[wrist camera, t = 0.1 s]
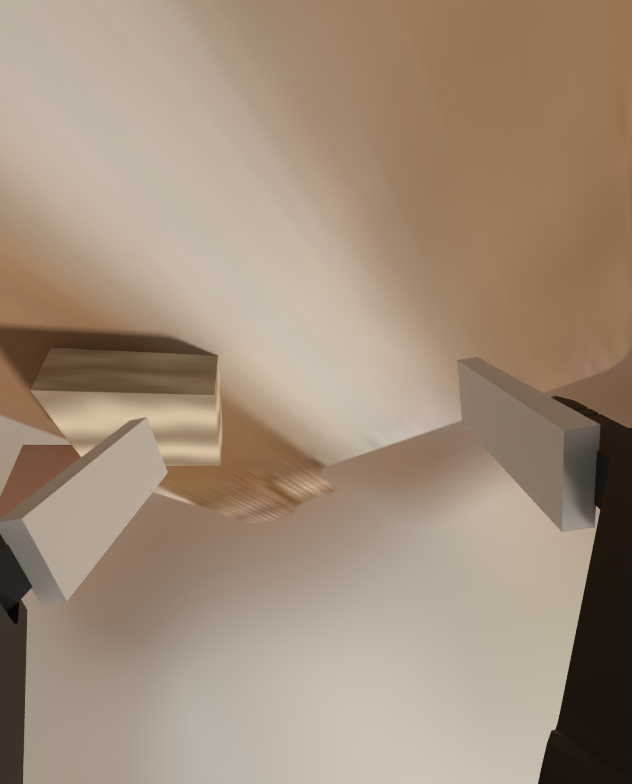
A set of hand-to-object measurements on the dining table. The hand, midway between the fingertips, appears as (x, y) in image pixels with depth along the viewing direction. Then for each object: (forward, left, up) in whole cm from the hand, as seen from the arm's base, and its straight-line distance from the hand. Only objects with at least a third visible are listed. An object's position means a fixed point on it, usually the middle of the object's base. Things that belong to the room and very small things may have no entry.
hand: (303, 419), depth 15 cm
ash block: (+15, -18, -16) cm, 28 cm away
